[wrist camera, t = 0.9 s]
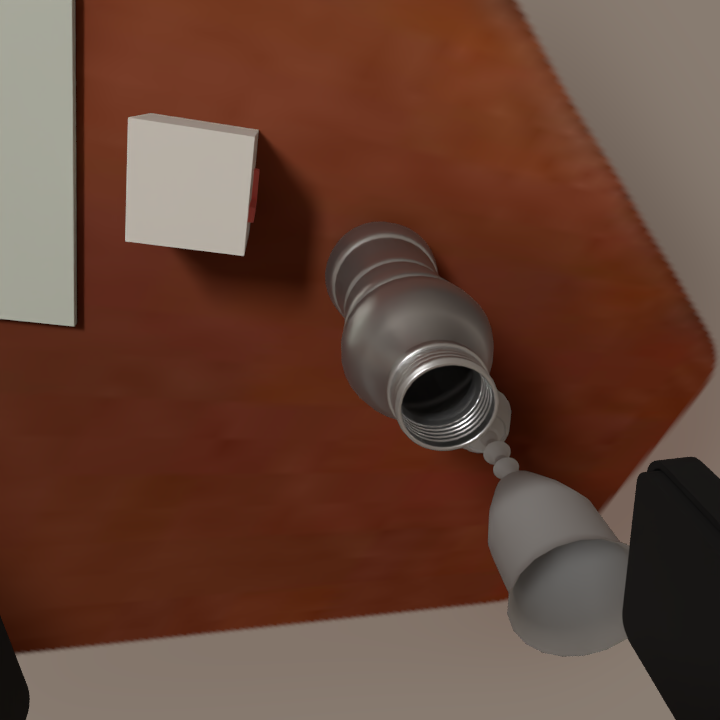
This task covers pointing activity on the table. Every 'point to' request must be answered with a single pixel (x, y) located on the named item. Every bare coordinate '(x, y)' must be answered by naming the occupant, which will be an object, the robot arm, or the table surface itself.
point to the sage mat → (38, 161)
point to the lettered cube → (190, 183)
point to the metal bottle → (412, 337)
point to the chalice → (552, 555)
